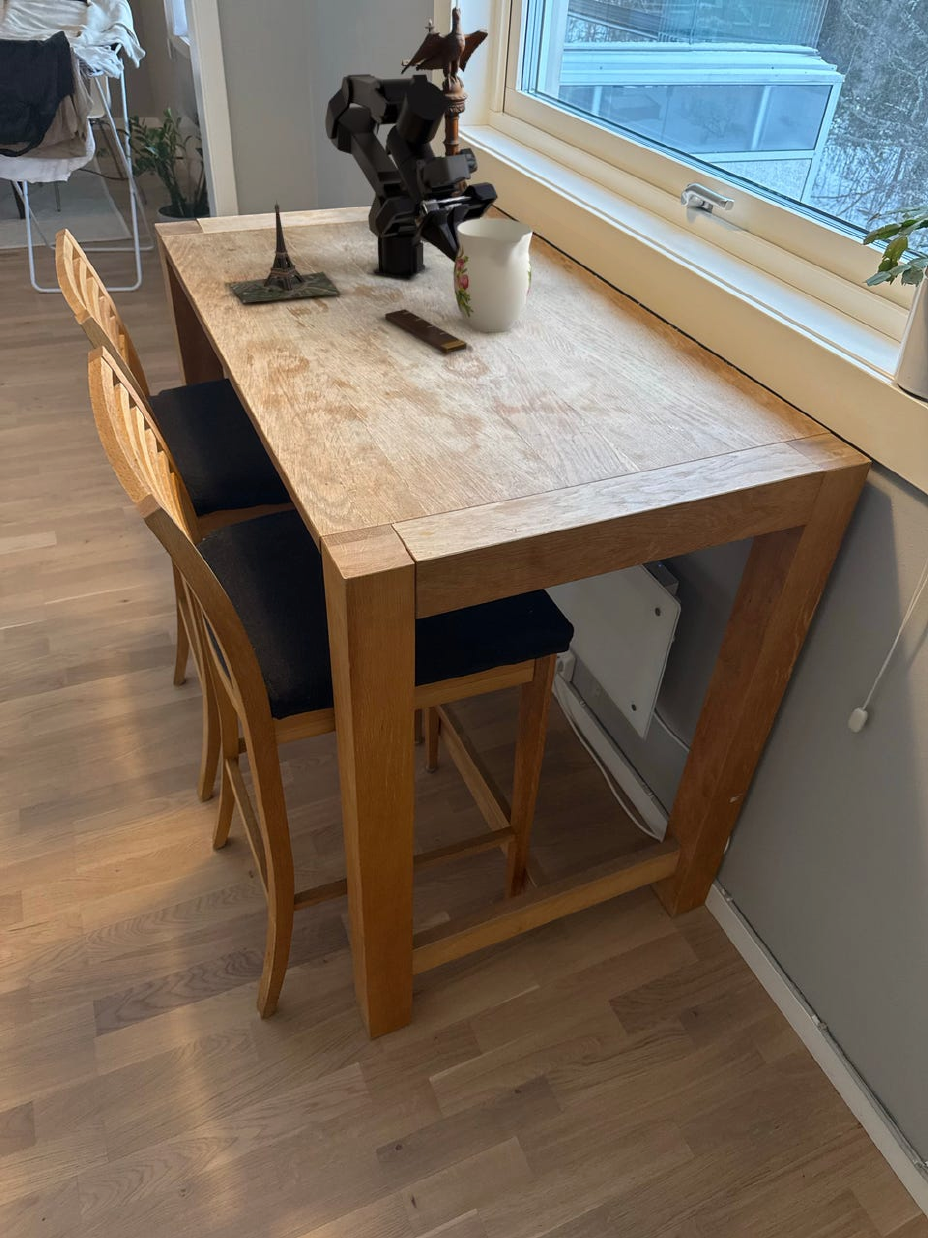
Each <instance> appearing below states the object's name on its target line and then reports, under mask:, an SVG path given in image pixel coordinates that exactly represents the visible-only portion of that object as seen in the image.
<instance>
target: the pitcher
mask: <svg viewBox="0 0 928 1238" xmlns="http://www.w3.org/2000/svg"><path fill="white" fill-rule="evenodd" d="M533 231H534V230H533V229H532V227H531V226H529V225H527V224H525V223H523V222H521V221H518V220H513V219H508V218H498V217H497V218H495V217H493V218H492V217H485V218H483V217H481V218H480V219H474V220H469V221H466V222H463V223H461V224H460V225H458V227H457V233H458V238H459V246H460V248H459V251H458V253H457V257H456V260H455V263H454V265H453V288H454V295H455V299H456V303H457V306H458V310H459V312H460V313H461V317H462V318H463V319H464V321H465V322H466V323H467V325H468V327H470V328H471V329H473V330H475V331H477V332H478V331H479V332H484V333H502V332H506V331H508V330H511V329H512V327H513V326H514V325H515V324H516V323H517V321H518V320H519V319H520V317H521V315H522V313H523V312H524V309H525V306H526V305H527V301H528V298H529V295H530V291H531V285H532V277H533V274H532V270H533V269H532V261H531V256H530V251H529V248H530V244H531V240H532V236H533Z"/></svg>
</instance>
